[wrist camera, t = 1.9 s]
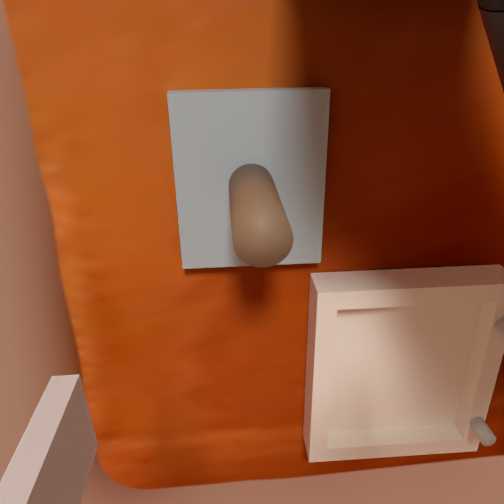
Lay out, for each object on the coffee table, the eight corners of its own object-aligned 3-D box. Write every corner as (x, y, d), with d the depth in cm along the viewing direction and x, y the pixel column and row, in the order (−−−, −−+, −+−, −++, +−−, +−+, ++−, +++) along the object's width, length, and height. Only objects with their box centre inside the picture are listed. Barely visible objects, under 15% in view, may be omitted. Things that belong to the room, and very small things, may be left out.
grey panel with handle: (169, 89, 29) (146, 117, 20) (325, 86, 30) (375, 111, 20) (184, 259, 35) (171, 345, 25) (316, 253, 35) (353, 336, 26)
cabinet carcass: (310, 273, 35) (323, 308, 31) (499, 264, 36) (539, 297, 32) (303, 435, 43) (313, 482, 38) (461, 425, 44) (488, 470, 39)
